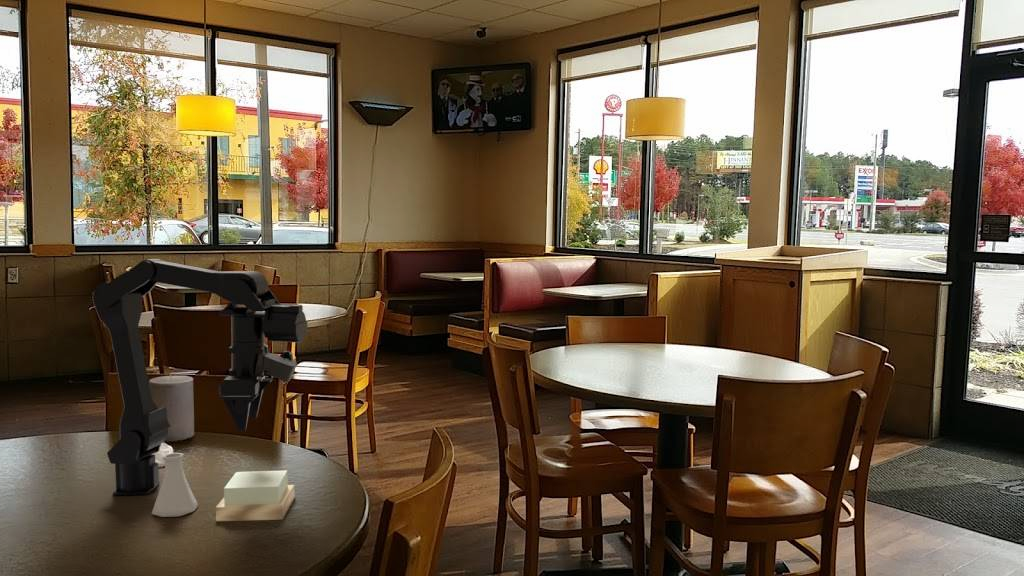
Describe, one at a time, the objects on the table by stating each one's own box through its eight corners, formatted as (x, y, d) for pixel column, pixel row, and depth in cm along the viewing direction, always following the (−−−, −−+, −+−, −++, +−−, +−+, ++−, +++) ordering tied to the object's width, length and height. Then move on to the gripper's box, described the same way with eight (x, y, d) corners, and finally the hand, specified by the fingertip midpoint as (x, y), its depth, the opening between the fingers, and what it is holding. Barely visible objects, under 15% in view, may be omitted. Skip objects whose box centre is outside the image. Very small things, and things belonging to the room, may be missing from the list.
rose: (136, 437, 175) (184, 434, 177) (137, 457, 175) (185, 454, 178) (126, 450, 165) (177, 447, 168) (127, 471, 166) (178, 468, 168)
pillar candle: (141, 440, 188) (139, 376, 186) (165, 430, 197) (164, 369, 196) (180, 443, 186) (178, 378, 185) (202, 432, 196) (201, 370, 194)
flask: (181, 520, 138) (179, 462, 137) (143, 517, 140) (141, 459, 139) (205, 505, 145) (204, 450, 144) (169, 502, 147) (167, 448, 146)
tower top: (224, 505, 138) (223, 488, 138) (236, 488, 147) (236, 472, 147) (278, 503, 139) (278, 486, 139) (287, 486, 148) (287, 470, 148)
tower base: (216, 524, 138) (215, 507, 137) (233, 502, 149) (232, 486, 148) (282, 522, 138) (282, 505, 138) (294, 500, 149) (294, 484, 149)
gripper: (284, 349, 140) (284, 437, 142) (301, 333, 159) (300, 412, 160) (217, 348, 139) (217, 438, 140) (242, 333, 158) (242, 412, 159)
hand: (248, 424), depth 150 cm, fingers open, 9 cm apart
